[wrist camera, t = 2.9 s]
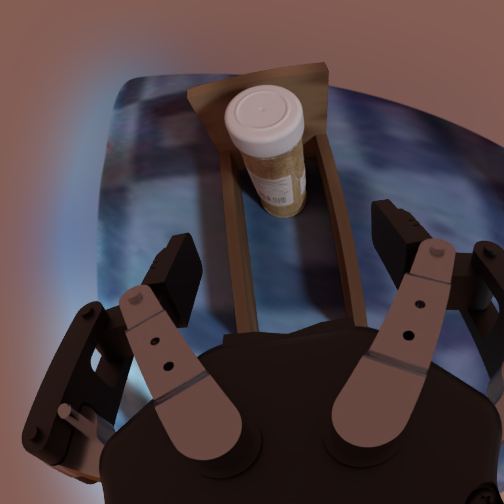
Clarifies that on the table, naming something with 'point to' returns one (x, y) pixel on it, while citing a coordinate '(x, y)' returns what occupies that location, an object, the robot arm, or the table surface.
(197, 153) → the table surface
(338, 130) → the table surface
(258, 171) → the sprinkles bottle
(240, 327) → the shelf lane
